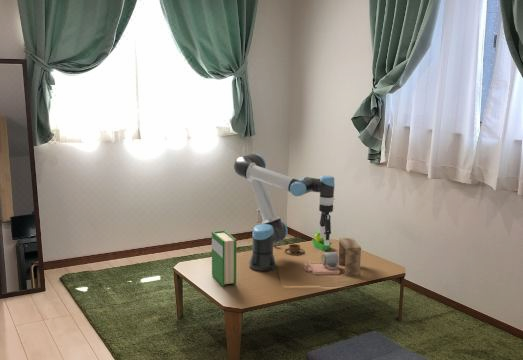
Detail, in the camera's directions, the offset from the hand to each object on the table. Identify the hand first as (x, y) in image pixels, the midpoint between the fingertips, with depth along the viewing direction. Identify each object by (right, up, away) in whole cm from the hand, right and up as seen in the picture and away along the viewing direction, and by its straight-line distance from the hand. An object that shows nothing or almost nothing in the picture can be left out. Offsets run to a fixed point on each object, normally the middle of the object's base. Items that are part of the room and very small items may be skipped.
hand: (324, 241), depth 286 cm
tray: (-2, -16, +3) cm, 16 cm away
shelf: (+14, -16, +4) cm, 22 cm away
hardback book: (-55, -19, -14) cm, 59 cm away
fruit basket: (+3, -10, +40) cm, 42 cm away
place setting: (-17, -11, +36) cm, 41 cm away
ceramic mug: (0, -15, +4) cm, 15 cm away
